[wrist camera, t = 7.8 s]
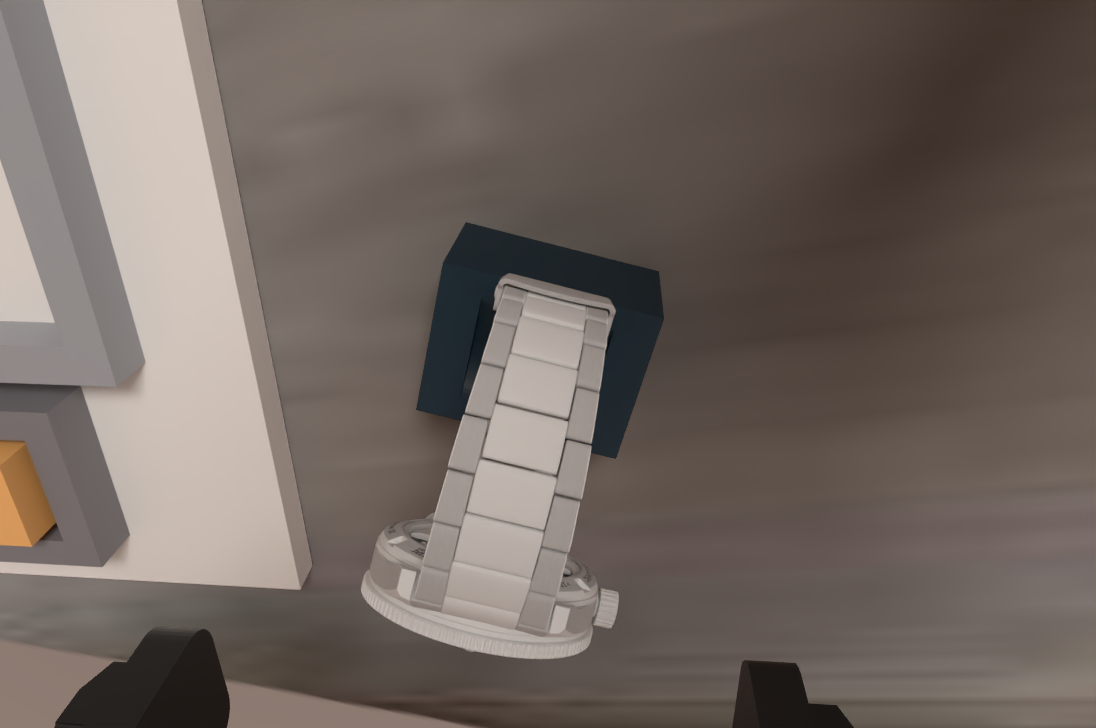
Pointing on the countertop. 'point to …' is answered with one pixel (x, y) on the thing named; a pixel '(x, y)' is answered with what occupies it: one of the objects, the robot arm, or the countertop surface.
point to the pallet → (135, 306)
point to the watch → (518, 444)
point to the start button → (21, 497)
